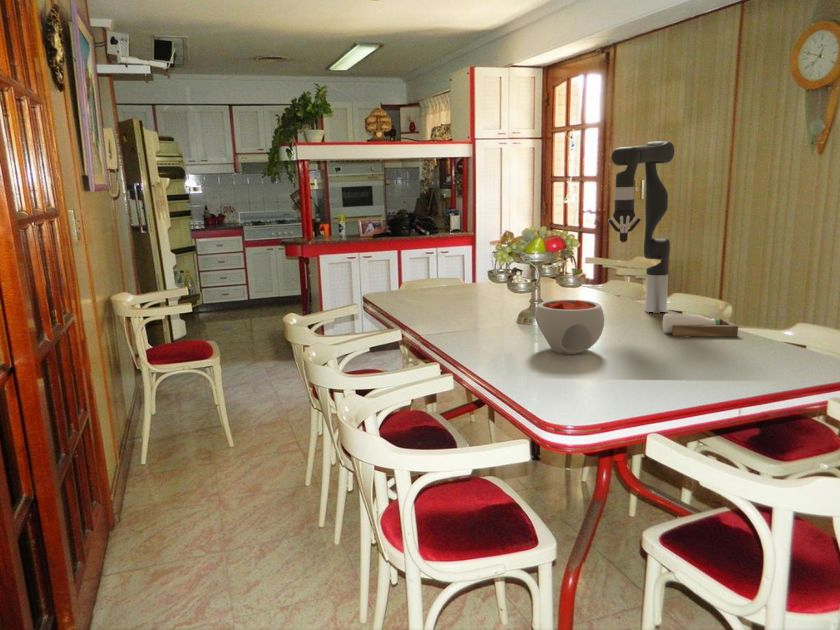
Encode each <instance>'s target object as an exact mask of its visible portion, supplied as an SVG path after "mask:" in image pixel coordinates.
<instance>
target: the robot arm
mask: <svg viewBox="0 0 840 630" xmlns="http://www.w3.org/2000/svg"><path fill="white" fill-rule="evenodd" d="M674 156H675V145H674V144H673V143H672V142H671V141H669V140H668V141H667V140H657V141H649V142H647V144H646V145H635V146H623V147H617V148H614V150H613V151H612V152H611V157H610V159H611V161H612V163H613V164H614V165H616V166H619V167H621V166H626V168H625V170H623V171H620V172H617V173H616V175H615V190H614V211H613V214H612V217H610V218H608V220H607V222H608V223H609V225H610V226H611V227H612V228H613V230H614V231H615V232H616V233H619V241H620V243H626V242H627V241H628V235H629V234H628V233H629V232H632V231H634V229H635V228H636V227H637V226H638V225H639V223H640V221H641V218H638V217H637V216H636V213H635V198H636V195H635V192H636V191H635V177H636V172H637V168H638V165H640V164H644V168H645V206H644V207H645V224H644V225H645V227H644V241H643V256H644V258H645V259H648V260H660V262H659V263H657V264H655V265H652V266H651V265H650V266H648V267H646V271H645V272H646V277H645V302H644V303H645V304H644V307H645V308H644V311H645V313H649V312H653V313H652V314H661V313H660V312H665V313H667V305H668V289H669V288H668V285H669V283H668V282H669V267H670V266H669V265H670V264H669V263H670V262H669V261H670V251H671V242H670V240H669V239H668V238H656V237H655V238H653V234H654V231H655V230H656V228H657V226H658V225H659V222H661V220H662V219H663V217H664V216H665V214H666V212H667V210H668V205H669V204H668V203H669V195H668V191H667V189H666V187H665V186H664V183H663V182H662V181H661V179H660V176H659V174H658V171H657V170H658V169H657V164H667V163H670V162H672V160H673V158H674ZM632 221H633V222H632ZM615 222H616V223H617V224H618V227H617V225H616V224H615ZM630 224H631V225H630Z"/></svg>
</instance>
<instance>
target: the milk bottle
mask: <svg viewBox="0 0 840 630" xmlns="http://www.w3.org/2000/svg"><path fill="white" fill-rule="evenodd" d="M673 325H720V320H719V319H708V318H707V317H705V316H703V315H701V314H695V313H665V314H664V313H663V318H662V331H663V333H664V334H672V327H673Z"/></svg>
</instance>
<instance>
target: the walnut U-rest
mask: <svg viewBox="0 0 840 630" xmlns="http://www.w3.org/2000/svg"><path fill="white" fill-rule="evenodd" d="M708 319H719V320H720V325H673V327H672V333H671V336H672V337H673V336H674V337H675V338H682V336H684V337H685V336H737V337H738V336H739V334H738V333H739V325H736V324H735V323H733V322H732V321H730V320H728V319H727V318H725V317H724V318H723V317H722V318H721V317H717V318H715V317H709V318H708ZM679 336H681V337H679ZM684 337H683V338H684Z"/></svg>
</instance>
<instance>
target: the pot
mask: <svg viewBox="0 0 840 630" xmlns="http://www.w3.org/2000/svg"><path fill="white" fill-rule="evenodd" d="M534 318H535V321H536V324H537V327H538V328H539V331H540V332H541V334H542V335H543V336H544V339H545V340H546V342H547V344H548V345H549V347H550V348H551V350H552V351H554V352H556V353H558V354H563V355H564V354H565V355H576V354H577V355H578V354H581V353H583V352H586V351H587V350H588V349H591V348H592V347H593V346H594V345H595V344H596V343H597V342H598V341H599V340H600V337H601V336H602V333H603V330H604V327H605V314H604V310H603V308H602V305H601V304H600V303H598V302H595V301H590V300H583V299H554V300H546V301H542V302H540V303H539V304H537V306H536V309H535V312H534Z"/></svg>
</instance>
